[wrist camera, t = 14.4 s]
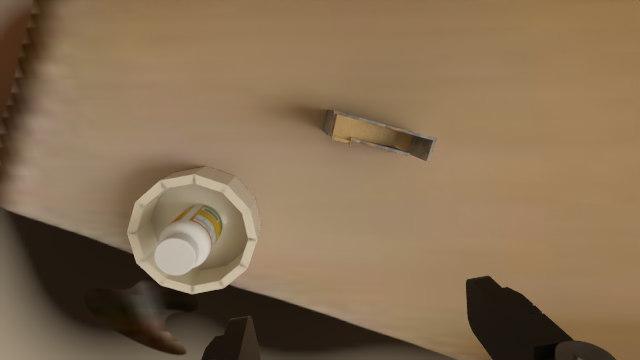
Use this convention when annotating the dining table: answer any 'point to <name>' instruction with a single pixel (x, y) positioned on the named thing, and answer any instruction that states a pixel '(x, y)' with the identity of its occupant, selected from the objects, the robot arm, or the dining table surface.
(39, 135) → the dining table surface
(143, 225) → the bowl
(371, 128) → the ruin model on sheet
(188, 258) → the supplement bottle
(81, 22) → the dining table surface
